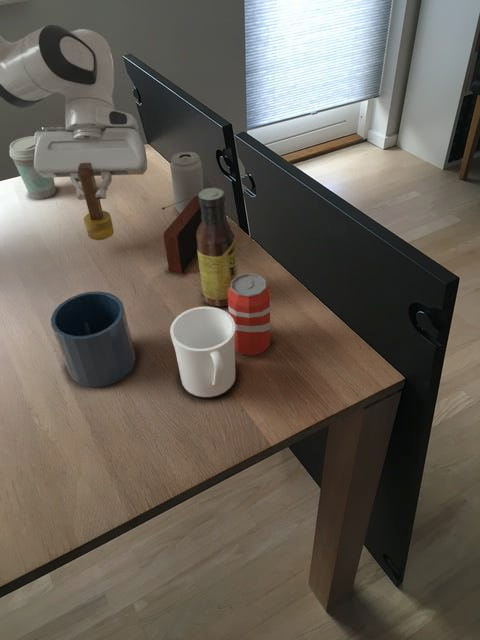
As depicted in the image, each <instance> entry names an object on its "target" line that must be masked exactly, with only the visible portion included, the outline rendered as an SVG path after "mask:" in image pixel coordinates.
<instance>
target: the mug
mask: <svg viewBox="0 0 480 640" xmlns="http://www.w3.org/2000/svg"><path fill="white" fill-rule="evenodd" d="M169 333H170V337H171V340H172V344H173V348H174V351H175V355H176V361H177V365H178V370H179V375H180V380H181V386H182V387H183V389H184V391H186V392H187V393H188V394H189V395H191V396H192V397H195V398H197V399H202V400H212V399H215V398H216V399H217V398H219V397H221V396H223V395H225V394H226V393H227V392H229V391H230V390H231V389H232V387H233V386H234V384H235V382H236V350H235V322H234V320H233V318H232V317H231V316H230V314H229V312H228V311H225V310H224V309H222V308H218V307H215V306H198V307H192V308H190V309H187V310H185V311H183V312H181V313H180V314H179V315H177V316H176V318H174V319H173V321H172V323H171V325H170V330H169Z"/></svg>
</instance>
